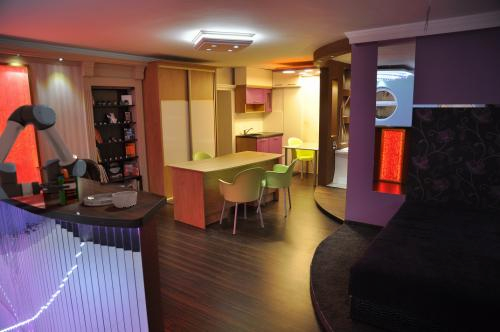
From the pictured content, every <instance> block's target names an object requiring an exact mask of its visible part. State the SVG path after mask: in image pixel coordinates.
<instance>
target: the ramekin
mask: <svg viewBox="0 0 500 332" xmlns="http://www.w3.org/2000/svg"><path fill="white" fill-rule="evenodd" d="M112 194H113V195H112V198H113V201H114V206H115V208H118V209H124V208H123V207H126V208H131V207H134V206H136V204H137V197H138V192H137V191H134V190H128V191H126V190H125V191H119V192H118V191H117V192H116V193H112ZM133 205H134V206H133ZM130 206H131V207H130Z"/></svg>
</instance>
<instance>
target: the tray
mask: <svg viewBox="0 0 500 332" xmlns="http://www.w3.org/2000/svg"><path fill="white" fill-rule="evenodd" d="M113 194H114V193H99V194H98V193H97V194H93V195H89V196H86V197H84V198H82V202H83V204H84V206H88V207H100V206H101V207H102V206H103V207H104V206H108V205H113V204H114V201H113V198H112V195H113Z"/></svg>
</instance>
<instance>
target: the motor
mask: <svg viewBox="0 0 500 332" xmlns="http://www.w3.org/2000/svg"><path fill="white" fill-rule="evenodd" d="M61 173H63V174H64V176H61V177H58V182H59V185H64V184H73V183H76V188H72V189H64V191H59V193H58V194H59V203H60V205H61V206H66V205H74V204H77V203H78V202H80V193H79V192H80V191H79V181H78V178H79V177H77V176H76V175H69V176H68V172H67V170H66V169H63V170H61Z"/></svg>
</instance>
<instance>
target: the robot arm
mask: <svg viewBox="0 0 500 332" xmlns="http://www.w3.org/2000/svg"><path fill="white" fill-rule="evenodd" d="M56 116H57V113H56V111H55V110H54V108H52V106H50V105H47V104H41V103H40V104H39V103H38V104H24V105H21V106H18V107H17V108H15V110H13V112H12V113H11V114H9V116H8V118H7V120H6V121H5V124H6V126H5V127H4V129H3V130H2V133H1V135H0V200H7V199H8V200H10V199H15V198H23V197H24V198H28V197H31V196H38V195H41V191H42V192H43V193H44V192H45V194H47V193H55V194H54V195H56V194H60V193H59V191H64V189H72V188H76V183H73V184H64V185H59V182H58V177H61V176H64V174H63V173H61V170H63V169H66V170H67V172H68V176H69V175H76V176H77V178H81V177H82V176H84V174H85V173H86V170H87V163H86V162H85V161H84V160H83V159H80V158H79V157H78V155H76V154H74V153H72V151H71V149H70V147H69V146H68V144H67V143H66V141H65V140H64V137H63V136H62V135H61V132H60V131H59V129H58V127H56V121H57V120H56V119H57V117H56ZM30 125H31V126H33V127H34V129H35V130H36V131H38V132H40V133H41V134H42V136H43V137H44V139H45V140H46V142H47V143H48V146H50V148H51V149H52V151H53V153H54V154H55V156H56V157H57V158H50V159H47V160H46V161H45V171H46V179H47V182H45V183H40V182H39V181H31V182H20V183H18V173H17V171H18V170H17V168H16V163H15V162H12V161H8V162H6V160H7V158H8V156H9V155H10V153H11V151H12V148H13V147H14V144H15V143H16V141H17V140H18V138H19V136H20V133H21V132H23V131H24V130H25V129H26V127H27V126H30Z"/></svg>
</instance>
